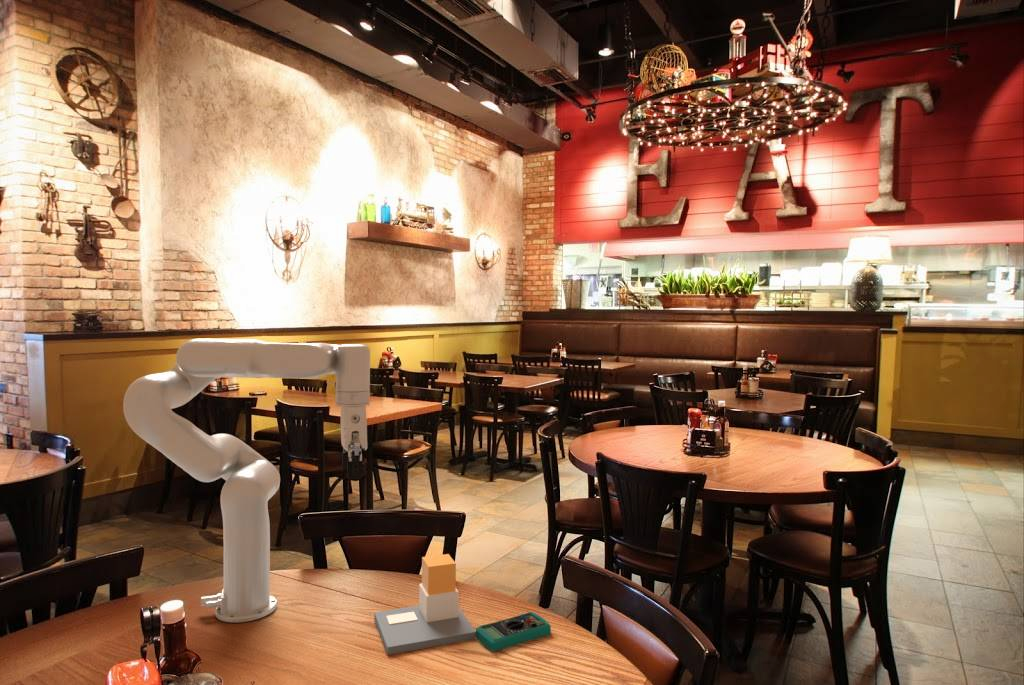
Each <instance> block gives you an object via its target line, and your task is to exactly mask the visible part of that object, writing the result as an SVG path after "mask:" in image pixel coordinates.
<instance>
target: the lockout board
mask: <svg viewBox="0 0 1024 685" xmlns="http://www.w3.org/2000/svg"><path fill="white" fill-rule="evenodd" d="M418 586H419V587H418V591H419V593H418V605H415V606H406V607H400V608H392V609H388V610H381V611H374V618H373V619H374V623H375V625H376V628H377V630H378V634H379V635H380V638H381V639H380V640H381V641H382V644H383V647H384V650H385V653H386V655H387V656H390V655H395V654H400V653H406V652H407V653H408V652H413V651H417V650H424V649H429V648H434V647H440V646H445V645H450V644H456V643H462V642H466V641H467V642H468V641H473V640H476V639H477V638H476V629H475V628H474V627H473V626H472V624H471V622H470V621H469V619H468V618H467V616H466V615H465V613H464V612H463V611H462V609H461V608H460V605H459V604H460V600H459V599H460V598H459V597H460V596H459V595H460V592H459V590H458V589H457V588H456V591H453V592H446V593H439V594H432V595H428V594H427V592H426V590H425V589H424V587H423V585H422V582H421V583H419V584H418Z"/></svg>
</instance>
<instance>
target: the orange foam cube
mask: <svg viewBox="0 0 1024 685" xmlns="http://www.w3.org/2000/svg"><path fill="white" fill-rule="evenodd" d="M456 576H457V562H456V561H455V560H454V559H453V558H452V557H451V555H450V553H446V554H438V555H430V556H429V555H428V556H422V557H421V583H422V585H423V587H424V589H425V590H426V592H427V594H428V595H432V594H439V593H446V592H453V591H456V589H457V585H456V583H457V577H456Z"/></svg>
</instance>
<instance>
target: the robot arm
mask: <svg viewBox="0 0 1024 685" xmlns="http://www.w3.org/2000/svg"><path fill="white" fill-rule="evenodd" d="M175 363H176V364H174V365H173V366H172V367H171V368H170V369H169V370H167V371H165V372H164V371H163V372H157V373H156V372H155V373H151V374H150V373H149V374H147V375H144V376H141V377H139V378H137V379H136V380H134V381H133V382H131V384H130V385H129V386H128V387H127V389H126V391H125V394H124V397H123V403H122V407H123V408H122V409H123V410H122V411H123V415H124V419H125V420H126V423H127V425H128V426H129V427H130V429H131V430H132V431H133V432H134V433H135V434H136V435H137V437H139V438H140V439H142V440H143V441H145V442H146V444H148V445H150V446H152V447H153V448H154V449H156V450H157V451H158V452H160V453H162V455H164V457H166V459H169V460H170V461H171V462H172V463H174V464H175V465H176V466H177V467H179V468H181V469H182V470H183V471H184V472H186V473H187V474H189V476H191V477H192V478H194V479H195V480H196V481H199V482H202V483H211V482H215V481H216V480H219V479H223V480H224V481H225V482H224V484H223V486H222V489H221V491H220V502H219V503H220V510H221V515H222V527H223V530H222V532H223V534H222V535H223V536H222V537H223V538H222V539H223V540H222V541H223V573H222V575H223V580H222V581H223V588H222V590H221V592H217V593H216V595H203V596H201V597H200V607H203V606H205V609H206V610H207V609H212V608H215V617H216V618H217V619H218V620H220V621H221V622H226V623H247V622H250V621H251V622H252V621H255V620H259V619H261V618H264V617H267V616H268V615H270V614H272V613H273V612H274V611H275V610H276V609H277V606H278V601H277V599H276V597H275V596H273V595H271V592H270V588H271V586H270V585H271V576H270V574H271V573H270V572H271V570H270V569H271V568H270V567H271V530H270V529H271V527H270V526H271V525H270V524H271V523H270V516H269V515H270V514H269V509H268V508H269V507H268V504H269V502H268V501H270V499H272V497H273V496H274V495H276V493H277V492H278V490H279V488H280V483H281V475H280V472H279V471H278V469H277V468H276V466H275V465H274V464H273V463H272V462H271V461H269V460H268V459H267V458H265V457H264V456H262V455H261V454H260V453H259V452H257V451H256V450H255V449H253V447H251V446H250V445H248V444H246V442H244V441H243V440H241V439H240V438H238V437H236V436H234V435H232V434H229V433H216V434H212V435H209V434H207V432H204V431H203V430H202V429H200V428H199V427H197V426H196V425H195V424H193V422H191V421H190V420H188V419H186V418H185V417H183V416H181V415H179V414H177V413H176V412H174V411H173V409H177V408H179V407H182V406H184V405H186V404H187V403H189V402H190V401H191V400H192V399H194V397H196V396H197V395H198V394H199V393H201V392H202V391H203V390H204V389H205V388H206V387H208V386H209V385H210V384H211V383H212V382H214V380H216V378H241V379H243V378H247V379H248V378H249V379H250V378H251V379H254V378H255V379H263V378H269V379H270V378H271V379H316V378H320V377H323V376H327V375H328V376H329V375H334V374H335V406H336V407H340V442H341V447H342V453H341V454H342V463H341V464H342V468H341V469H342V470H343V471H346V474H347V475H346V478H347V480H349V481H350V480H361V479H363V471H364V470H363V462H364V461H363V453H362V449H363V451H367V449H368V422H367V421H368V420H367V409H366V407H367V406H368V407H369V406H370V404H371V402H370V401H371V400H370V399H371V397H370V396H371V394H370V393H371V350H370V347H369V346H368V345H366V344H359V343H358V344H357V343H348V344H346V343H344V344H343V343H342V344H332V343H328V342H327V343H325V342H311V343H310V342H309V343H308V342H307V343H295V342H294V343H287V342H284V343H283V342H267V341H264V340H263V341H262V340H260V339H241V338H239V339H236V338H235V339H233V338H231V339H230V338H193V339H189V340H188V341H185V342H184V343H182V344H181V345H180V346H179V348H178V349H177V351H176V355H175Z"/></svg>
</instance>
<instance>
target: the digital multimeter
mask: <svg viewBox="0 0 1024 685" xmlns="http://www.w3.org/2000/svg"><path fill="white" fill-rule="evenodd" d="M551 628H552V626H551V624H550V623H549V622H548V621H547V620H546V619H545V618H543V617H541V616H540V615H539V614H537V613H535V612H533V611H529V612H527V613H522V614H519V615H517V616H513V617H509V618H506V619H502V620H499V621H495V622H490V623H486V624H483V625H479V626H478V627H475V631H476V639H477V640H478V641H479V642H480V644H482V646H484V647H485V648H486V649H488V650H489V651H491V652H492V653H497V652H500V651H502V650H505V649H508V648H511V647H514V646H517V645H520V644H523V643H527V642H530V641H533V640H537V639H541V638H545V637H547V636H550V635H552V634H551V633H552V632H551V630H552V629H551Z"/></svg>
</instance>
